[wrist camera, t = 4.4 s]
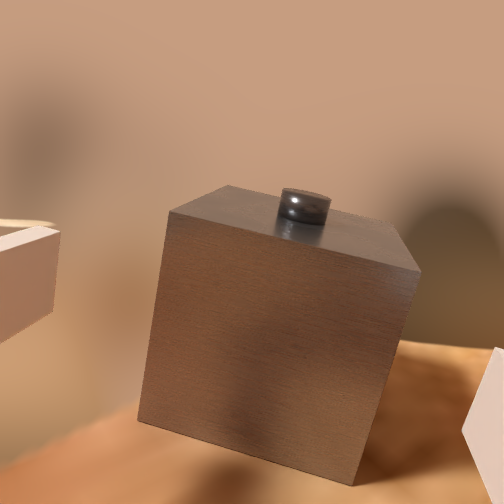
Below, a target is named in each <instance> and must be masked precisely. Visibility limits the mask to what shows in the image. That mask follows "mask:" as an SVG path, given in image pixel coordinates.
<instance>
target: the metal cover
mask: <svg viewBox="0 0 504 504" xmlns="http://www.w3.org/2000/svg"><path fill="white" fill-rule="evenodd" d="M330 203H331V199H330V198H328V197H326V196H323V195H320V194H316V193H312V192H308V191H303V190H298V189H291V188H290V189H289V188H284V189H283V190H282V195H281V197H277V196H272V195H268V194H264V193H259V192H255V191H250V190H246V189H242V188H238V187H233V186H229V185H227V186H224V187H222V188H220V189H218V190H215V191H213V192H211V193H209V194H206V195H204V196H202V197H200V198H198V199H195V200H193V201H191V202H188V203H186V204H184V205H182V206H179V207H177V208H175V209H173V210H170V211H169V216H168V223H167V229H166V236H165V242H164V249H163V255H162V262H161V268H160V276H159V282H158V288H157V294H156V301H155V307H154V315H153V320H152V327H151V333H150V340H149V347H148V353H147V360H146V367H145V372H144V380H143V385H142V392H141V398H140V405H139V411H138V418H137V420H138V421H141V422H144V423H148V424H151V425H154V426H157V427H161V428H164V429H167V430H170V431H174V432H177V433H180V434H183V435H187V436H190V437H193V438H197V439H200V440H203V441H206V442H210V443H213V444H216V445H219V446H223V447H226V448H229V449H232V450H236V451H239V452H242V453H246V454H249V455H252V456H255V457H259V458H262V459H265V460H268V461H272V462H275V463H278V464H281V465H285V466H288V467H291V468H295V469H298V470H301V471H304V472H308V473H311V474H314V475H317V476H321V477H324V478H327V479H331V480H334V481H337V482H340V483H344V484H347V485H350V486H352V484H353V481H354V478H355V475H356V472H357V469H358V466H359V463H360V460H361V457H362V454H363V451H364V448H365V445H366V441H367V438H368V435H369V432H370V429H371V426H372V423H373V420H374V417H375V414H376V411H377V408H378V405H379V402H380V399H381V396H382V392H383V389H384V386H385V383H386V380H387V377H388V374H389V371H390V368H391V365H392V362H393V359H394V356H395V353H396V350H397V347H398V343H399V340H400V337H401V334H402V331H403V328H404V325H405V322H406V319H407V316H408V313H409V310H410V307H411V304H412V300H413V298H414V294H415V291H416V288H417V285H418V282H419V279H420V276H421V273H422V272H421V270H420V269H419V267H418V266H417V264H416V262H415V261H414V259H413V257H412V256H411V254H410V252H409V251H408V249H407V247H406V246H405V244H404V243H403V241H402V239H401V238H400V236H399V234H398V233H397V231H396V229H395V228H394V226H393V224H392V223H388V222H384V221H380V220H375V219H371V218H367V217H362V216H358V215H354V214H350V213H345V212H341V211H337V210H333V209H329V207H330Z"/></svg>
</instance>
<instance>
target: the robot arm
mask: <svg viewBox="0 0 504 504" xmlns="http://www.w3.org/2000/svg"><path fill="white" fill-rule="evenodd" d="M60 234H61V231H57V230H54V229H50V228H46V227H42V226H39V225H38V226H35V227H31V228H28V229H25V230H21V231H18V232H14V233H11V234H8V235H4V236H0V344H1V343H2V342H4V341H6V340H7V339H9V338H11V337H12V336H14V335H15V334H17V333H19V332H20V331H22V330H24V329H25V328H27V327H29V326H30V325H32V324H34V323H35V322H37V321H38V320H40V319H42V318H43V317H45V316H46V315H48V314H50V313H51V312H53V306H54V295H55V285H56V275H57V264H58V253H59V244H60ZM462 433H463V435H464V438H465V440H466V442H467V445H468V447H469V449H470V452H471V454H472V456H473V459H474V461H475V464H476V466H477V468H478V471H479V473H480V475H481V478H482V480H483V483H484V485H485V487H486V490H487V492H488V494H489V497H490V499H491V501H492V504H504V349H500V348H497V347H495V348H494V351H493V353H492V356H491V358H490V361H489V363H488V366H487V368H486V370H485V373H484V375H483V378H482V380H481V383H480V385H479V388H478V390H477V393H476V395H475V398H474V400H473V403H472V405H471V408H470V410H469V413H468V415H467V418H466V420H465V423H464V425H463V428H462Z"/></svg>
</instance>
